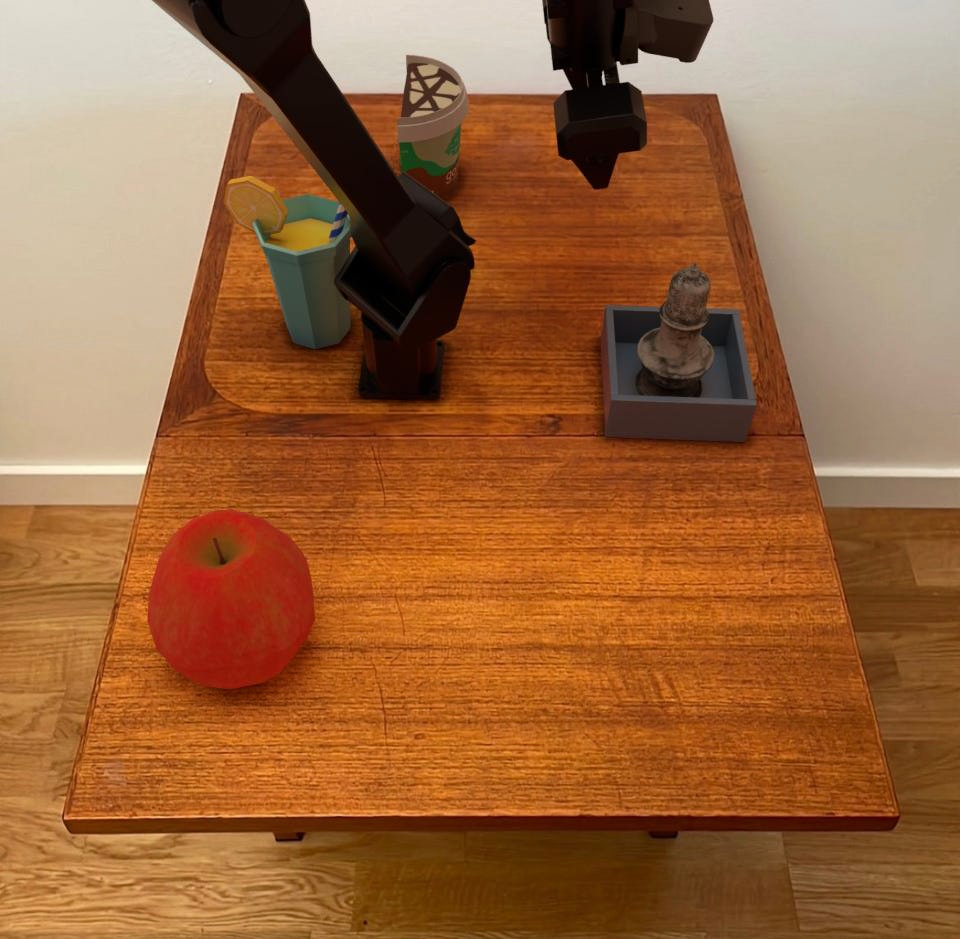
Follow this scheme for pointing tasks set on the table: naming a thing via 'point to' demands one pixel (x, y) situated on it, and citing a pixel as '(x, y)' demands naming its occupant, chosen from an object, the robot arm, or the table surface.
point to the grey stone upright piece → (678, 340)
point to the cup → (299, 255)
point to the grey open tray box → (678, 418)
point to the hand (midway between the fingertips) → (595, 147)
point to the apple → (230, 600)
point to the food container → (432, 123)
